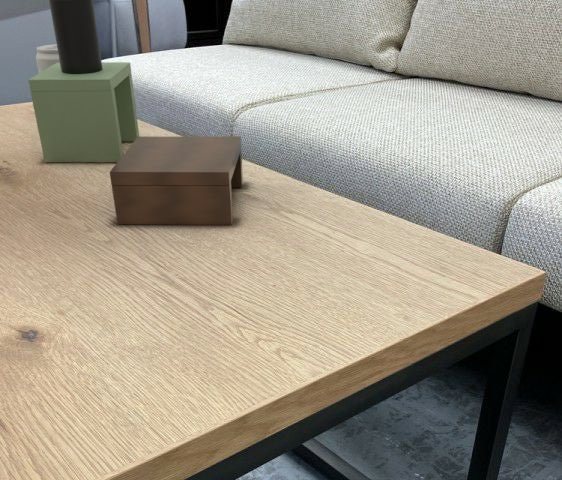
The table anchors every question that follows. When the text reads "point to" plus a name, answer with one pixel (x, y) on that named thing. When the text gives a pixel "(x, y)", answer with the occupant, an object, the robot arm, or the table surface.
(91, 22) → the black tin
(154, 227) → the table surface
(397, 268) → the table surface
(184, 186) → the low shelf
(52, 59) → the beverage can
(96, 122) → the green open cubby
